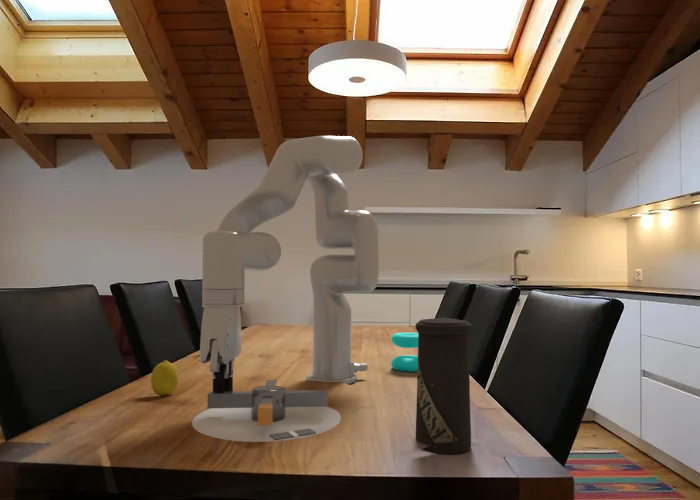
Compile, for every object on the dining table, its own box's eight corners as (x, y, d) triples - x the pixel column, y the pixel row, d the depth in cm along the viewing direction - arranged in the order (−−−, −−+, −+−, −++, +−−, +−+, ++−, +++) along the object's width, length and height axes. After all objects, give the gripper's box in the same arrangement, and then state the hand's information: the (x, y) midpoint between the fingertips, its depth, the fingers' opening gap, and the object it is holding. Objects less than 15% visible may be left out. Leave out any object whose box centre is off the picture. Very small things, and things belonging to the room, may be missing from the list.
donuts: (427, 332, 148) (425, 336, 139) (427, 367, 148) (425, 373, 138) (394, 331, 150) (389, 335, 141) (393, 365, 150) (389, 371, 140)
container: (409, 437, 83) (410, 315, 84) (463, 436, 84) (463, 315, 85) (421, 456, 75) (422, 320, 76) (480, 455, 76) (480, 320, 76)
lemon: (169, 402, 104) (170, 363, 104) (144, 400, 105) (146, 361, 105) (183, 396, 109) (184, 358, 110) (159, 394, 110) (161, 357, 111)
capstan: (216, 403, 100) (217, 377, 100) (323, 401, 102) (323, 376, 102) (195, 439, 78) (196, 406, 78) (331, 436, 80) (332, 404, 80)
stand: (304, 399, 108) (304, 393, 108) (368, 432, 85) (368, 425, 86) (177, 414, 95) (178, 407, 95) (214, 459, 73) (214, 450, 73)
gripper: (217, 295, 101) (216, 388, 100) (187, 301, 86) (186, 410, 85) (254, 296, 100) (253, 389, 99) (231, 301, 85) (230, 411, 85)
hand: (222, 399), depth 92 cm, fingers closed
